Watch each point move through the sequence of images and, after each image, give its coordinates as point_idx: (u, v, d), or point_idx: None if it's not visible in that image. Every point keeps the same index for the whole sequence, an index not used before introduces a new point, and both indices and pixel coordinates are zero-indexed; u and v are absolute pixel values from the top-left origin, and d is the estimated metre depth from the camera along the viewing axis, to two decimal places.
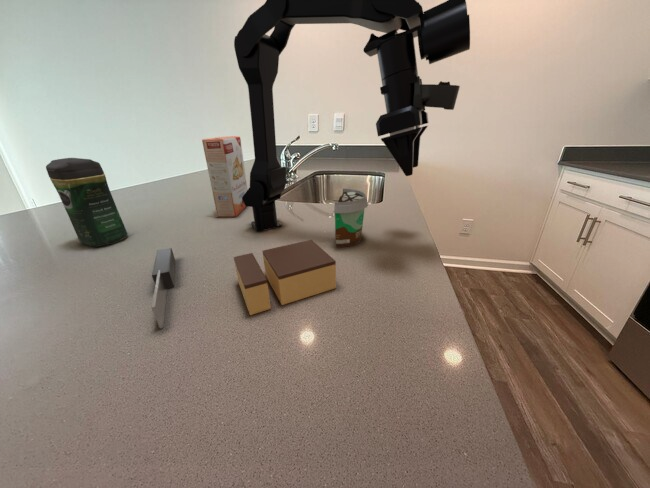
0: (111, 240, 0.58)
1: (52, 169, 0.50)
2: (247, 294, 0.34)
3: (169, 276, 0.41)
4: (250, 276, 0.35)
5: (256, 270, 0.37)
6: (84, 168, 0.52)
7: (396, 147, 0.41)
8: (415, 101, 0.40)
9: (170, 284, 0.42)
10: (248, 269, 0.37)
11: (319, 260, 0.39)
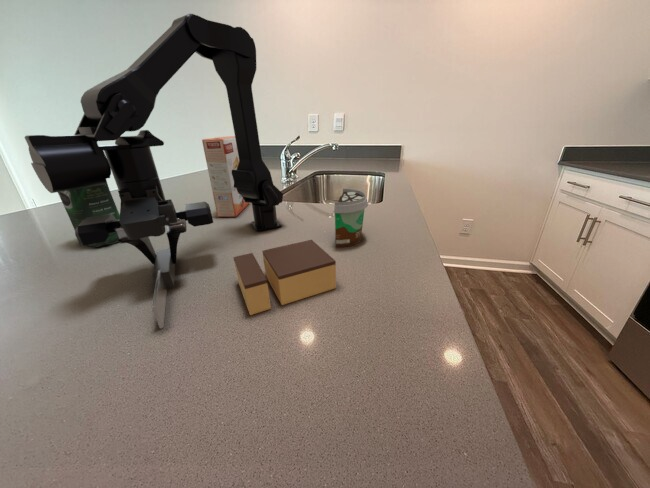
0: (111, 240, 0.58)
1: None
2: (247, 294, 0.34)
3: (169, 276, 0.41)
4: (250, 276, 0.35)
5: (256, 270, 0.37)
6: None
7: None
8: None
9: (170, 284, 0.42)
10: (248, 269, 0.37)
11: (319, 260, 0.39)
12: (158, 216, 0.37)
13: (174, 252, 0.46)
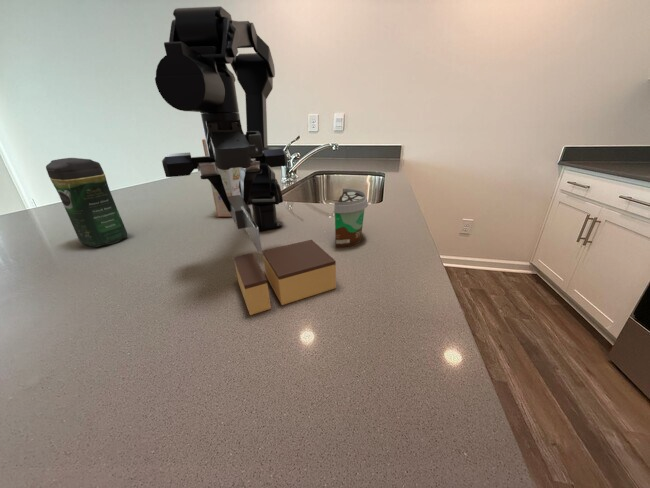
0: (111, 240, 0.58)
1: (52, 169, 0.50)
2: (247, 294, 0.34)
3: (250, 214, 0.41)
4: (250, 276, 0.35)
5: (256, 270, 0.37)
6: (84, 168, 0.52)
7: None
8: (207, 148, 0.39)
9: None
10: (248, 269, 0.37)
11: (319, 260, 0.39)
12: (249, 145, 0.36)
13: (247, 196, 0.45)
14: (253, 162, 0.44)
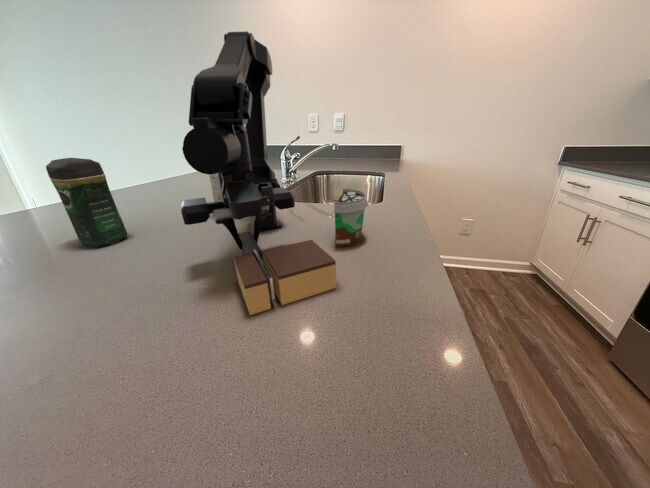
0: (111, 240, 0.58)
1: (52, 169, 0.50)
2: (247, 294, 0.34)
3: (261, 255, 0.44)
4: (250, 276, 0.35)
5: (256, 270, 0.37)
6: (84, 168, 0.52)
7: None
8: (222, 196, 0.42)
9: None
10: (248, 269, 0.37)
11: (319, 260, 0.39)
12: (262, 197, 0.39)
13: (257, 234, 0.49)
14: None
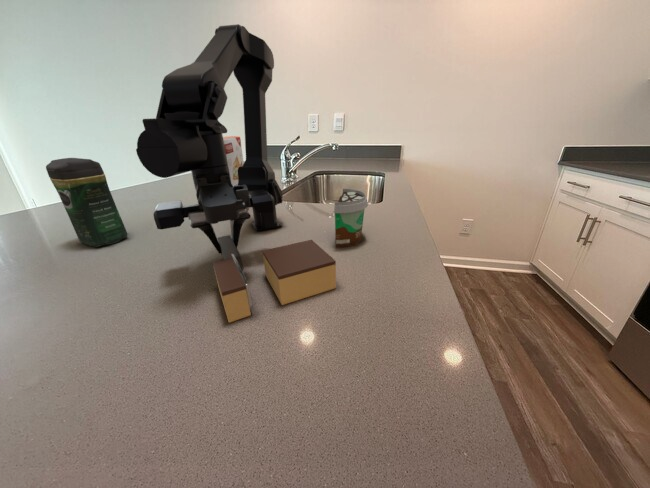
0: (111, 240, 0.58)
1: (52, 169, 0.50)
2: (225, 301, 0.33)
3: (240, 260, 0.43)
4: (228, 282, 0.34)
5: (235, 276, 0.36)
6: (84, 168, 0.52)
7: None
8: None
9: (240, 268, 0.43)
10: (226, 274, 0.36)
11: (319, 260, 0.39)
12: (236, 200, 0.38)
13: (236, 238, 0.47)
14: None
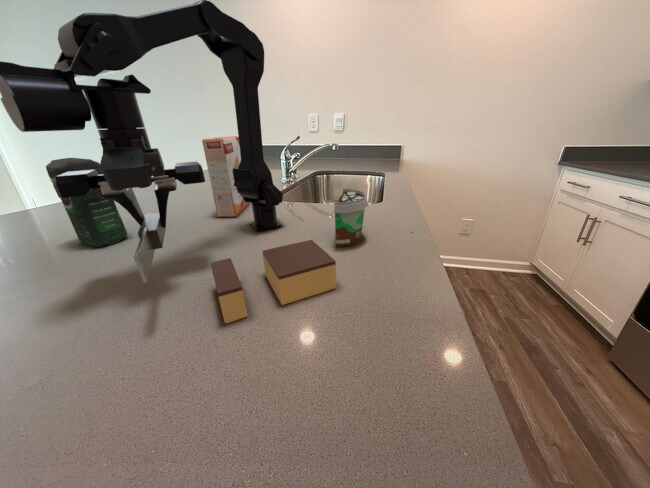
0: (111, 240, 0.58)
1: (52, 169, 0.50)
2: (221, 302, 0.33)
3: (157, 235, 0.38)
4: (225, 283, 0.34)
5: (232, 277, 0.35)
6: (84, 168, 0.52)
7: None
8: None
9: (158, 244, 0.39)
10: (223, 275, 0.36)
11: (319, 260, 0.39)
12: (143, 164, 0.34)
13: (163, 214, 0.43)
14: (167, 179, 0.41)
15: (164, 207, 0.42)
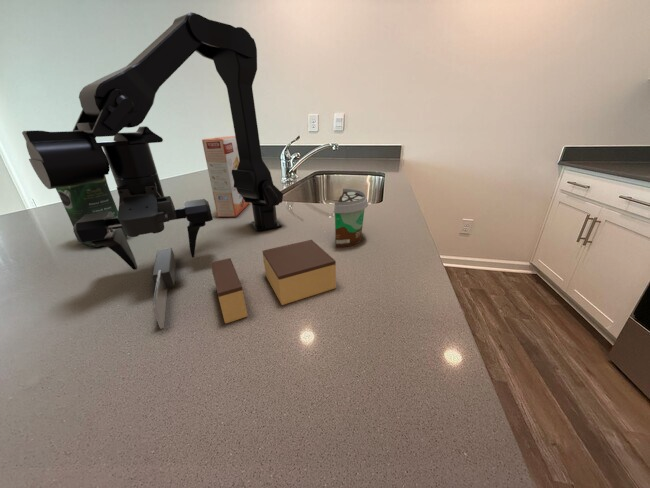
0: None
1: None
2: (221, 302, 0.33)
3: (169, 276, 0.41)
4: (225, 283, 0.34)
5: (232, 277, 0.35)
6: None
7: None
8: None
9: (170, 284, 0.42)
10: (223, 275, 0.36)
11: (319, 260, 0.39)
12: (157, 213, 0.36)
13: (193, 246, 0.47)
14: None
15: (194, 240, 0.47)
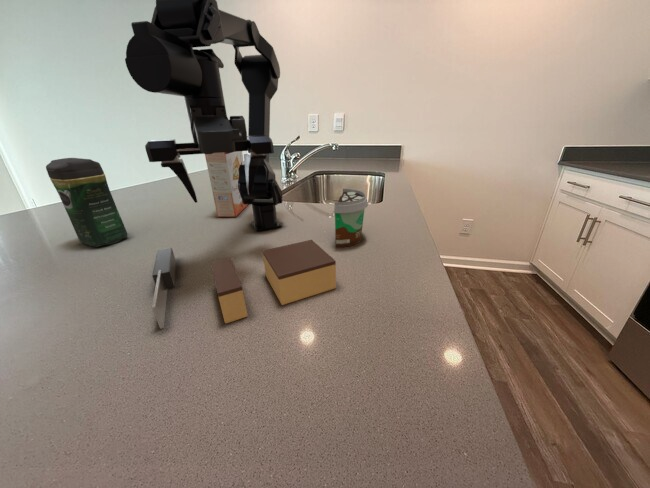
0: (111, 240, 0.58)
1: (52, 169, 0.50)
2: (221, 302, 0.33)
3: (169, 276, 0.41)
4: (225, 283, 0.34)
5: (232, 277, 0.35)
6: (84, 168, 0.52)
7: None
8: None
9: (170, 284, 0.42)
10: (223, 275, 0.36)
11: (319, 260, 0.39)
12: (232, 129, 0.36)
13: (252, 182, 0.46)
14: None
15: (253, 175, 0.46)
